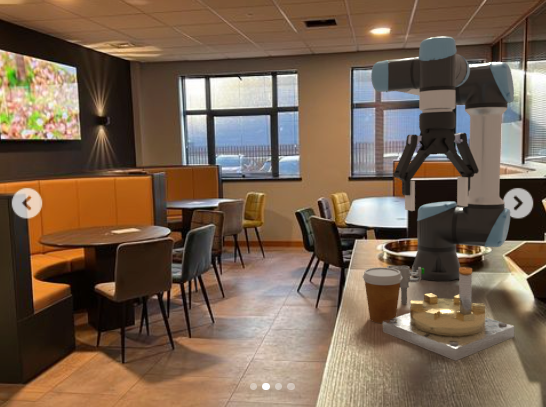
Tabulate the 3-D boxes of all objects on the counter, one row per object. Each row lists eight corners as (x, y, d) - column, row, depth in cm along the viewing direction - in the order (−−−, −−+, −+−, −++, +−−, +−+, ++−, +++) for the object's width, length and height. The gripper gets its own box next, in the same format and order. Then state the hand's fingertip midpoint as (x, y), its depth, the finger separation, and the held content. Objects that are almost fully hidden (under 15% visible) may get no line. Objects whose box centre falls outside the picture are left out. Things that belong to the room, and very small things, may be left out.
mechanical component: (424, 305, 138) (424, 268, 137) (384, 304, 140) (384, 268, 139) (423, 302, 141) (423, 265, 140) (384, 301, 143) (384, 265, 142)
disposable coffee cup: (379, 328, 123) (379, 279, 121) (355, 317, 131) (354, 270, 130) (410, 321, 127) (410, 273, 126) (385, 310, 136) (385, 265, 134)
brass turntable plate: (441, 306, 129) (441, 250, 127) (500, 324, 115) (501, 262, 114) (395, 320, 120) (395, 260, 118) (453, 341, 107) (454, 275, 105)
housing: (439, 313, 132) (440, 302, 131) (514, 336, 115) (514, 324, 115) (382, 331, 121) (382, 319, 121) (455, 360, 104) (455, 346, 104)
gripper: (473, 111, 121) (472, 202, 124) (377, 113, 114) (378, 209, 117) (496, 109, 114) (494, 205, 117) (395, 111, 107) (395, 214, 110)
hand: (436, 208), depth 117 cm, fingers open, 13 cm apart
